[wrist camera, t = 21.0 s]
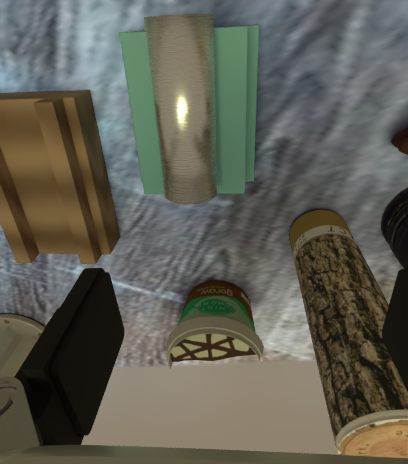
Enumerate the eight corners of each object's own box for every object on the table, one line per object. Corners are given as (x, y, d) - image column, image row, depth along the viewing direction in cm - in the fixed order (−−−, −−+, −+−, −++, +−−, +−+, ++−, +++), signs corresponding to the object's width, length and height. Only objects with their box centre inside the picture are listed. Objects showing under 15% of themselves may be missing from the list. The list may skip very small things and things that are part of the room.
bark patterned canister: (308, 262, 44) (370, 485, 23) (277, 227, 42) (315, 440, 21) (356, 235, 41) (478, 460, 20) (326, 196, 39) (429, 404, 18)
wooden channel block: (120, 236, 45) (104, 264, 39) (33, 235, 46) (8, 262, 41) (89, 90, 35) (64, 101, 30) (-19, 93, 36) (-60, 105, 31)
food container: (253, 267, 45) (256, 324, 37) (260, 301, 48) (264, 360, 40) (166, 279, 48) (150, 335, 39) (178, 311, 51) (165, 369, 42)
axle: (215, 180, 34) (219, 202, 30) (165, 183, 34) (162, 205, 30) (211, 15, 27) (215, 13, 22) (147, 18, 27) (140, 16, 22)
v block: (252, 170, 38) (254, 193, 33) (148, 171, 39) (134, 193, 34) (257, 24, 31) (260, 25, 26) (128, 31, 32) (107, 33, 27)
